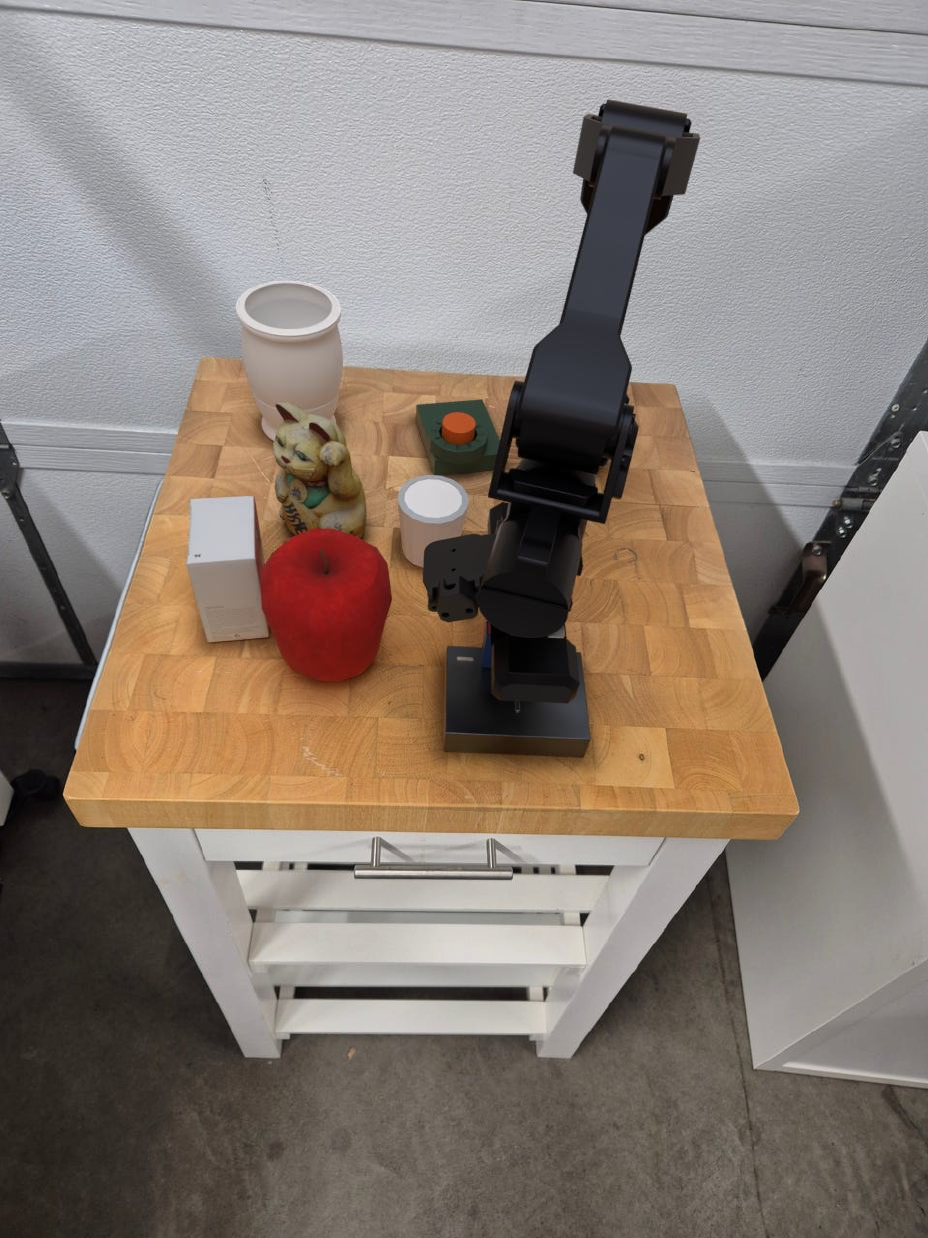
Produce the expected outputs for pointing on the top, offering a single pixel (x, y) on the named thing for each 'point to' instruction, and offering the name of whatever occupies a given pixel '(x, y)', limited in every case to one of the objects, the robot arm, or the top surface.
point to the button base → (453, 456)
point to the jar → (291, 349)
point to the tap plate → (507, 714)
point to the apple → (326, 602)
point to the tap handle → (486, 647)
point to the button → (458, 428)
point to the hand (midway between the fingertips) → (515, 658)
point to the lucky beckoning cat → (316, 475)
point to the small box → (227, 567)
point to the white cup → (429, 513)
